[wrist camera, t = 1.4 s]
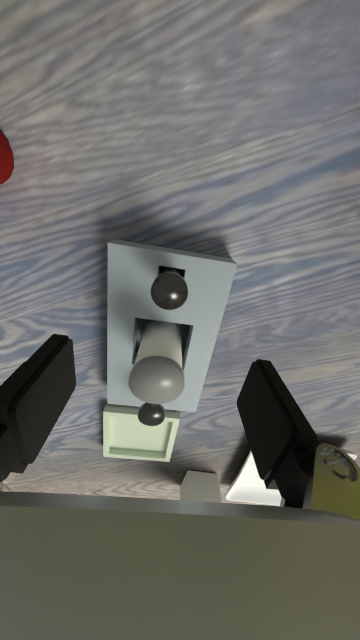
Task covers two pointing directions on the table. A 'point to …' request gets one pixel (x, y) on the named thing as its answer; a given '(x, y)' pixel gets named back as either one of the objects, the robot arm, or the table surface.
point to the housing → (163, 313)
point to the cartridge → (158, 364)
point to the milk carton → (200, 487)
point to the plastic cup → (5, 159)
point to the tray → (137, 434)
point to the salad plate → (255, 485)
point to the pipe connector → (9, 479)
